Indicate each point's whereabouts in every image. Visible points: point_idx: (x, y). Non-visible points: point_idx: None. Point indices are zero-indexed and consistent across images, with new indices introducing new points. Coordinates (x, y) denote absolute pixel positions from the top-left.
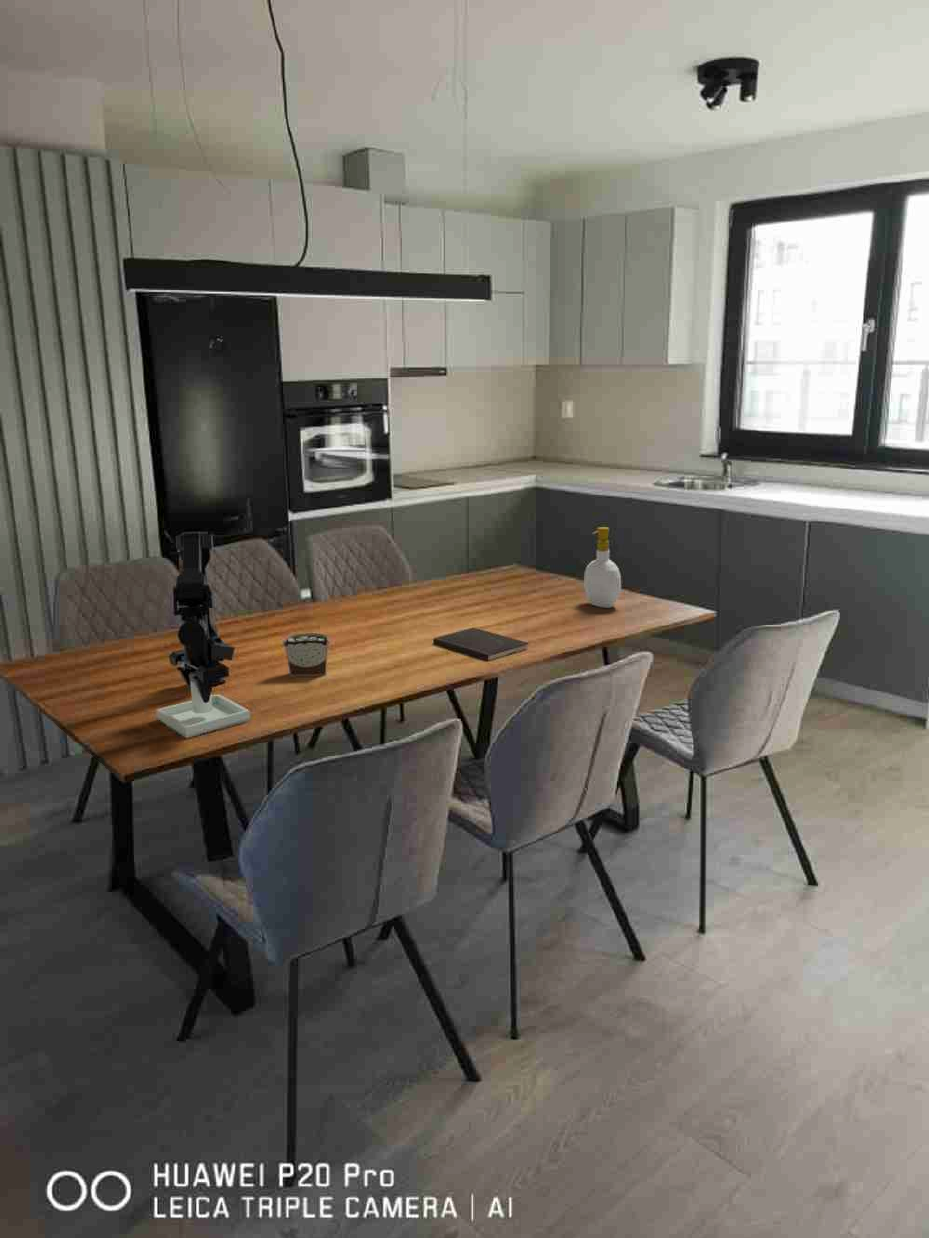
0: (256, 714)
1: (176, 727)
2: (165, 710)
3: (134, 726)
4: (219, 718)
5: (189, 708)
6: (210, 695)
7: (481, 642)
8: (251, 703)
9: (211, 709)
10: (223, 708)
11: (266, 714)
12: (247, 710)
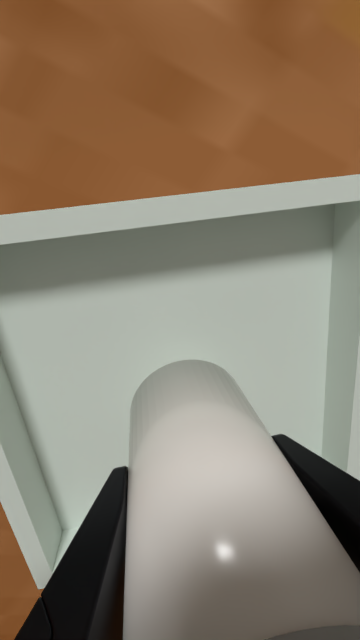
0: (278, 97)
1: None
2: (50, 546)
3: None
4: None
5: (20, 425)
6: (270, 438)
7: None
8: (47, 10)
9: (231, 376)
10: (98, 252)
11: (321, 35)
12: None
